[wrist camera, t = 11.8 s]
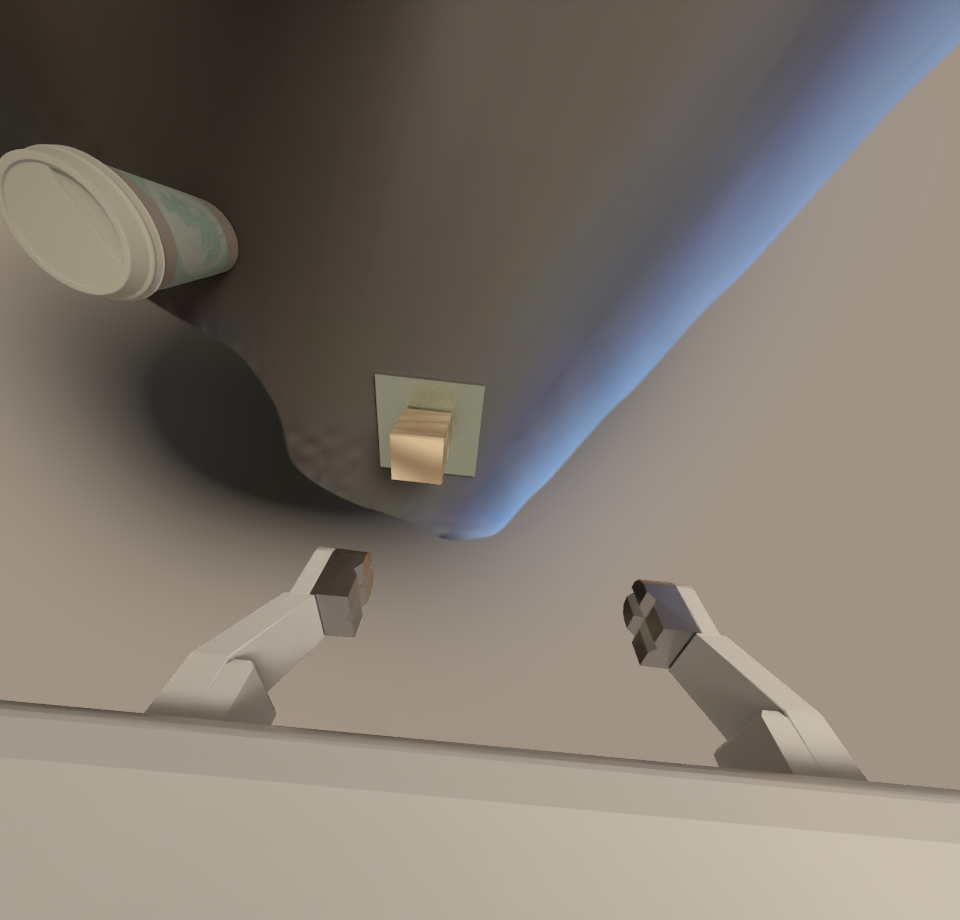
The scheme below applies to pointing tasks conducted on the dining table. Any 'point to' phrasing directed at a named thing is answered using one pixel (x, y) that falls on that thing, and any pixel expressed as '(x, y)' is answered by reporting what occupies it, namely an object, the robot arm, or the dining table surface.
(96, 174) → the coffee cup
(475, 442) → the post
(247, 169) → the dining table surface
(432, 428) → the wood grain block
